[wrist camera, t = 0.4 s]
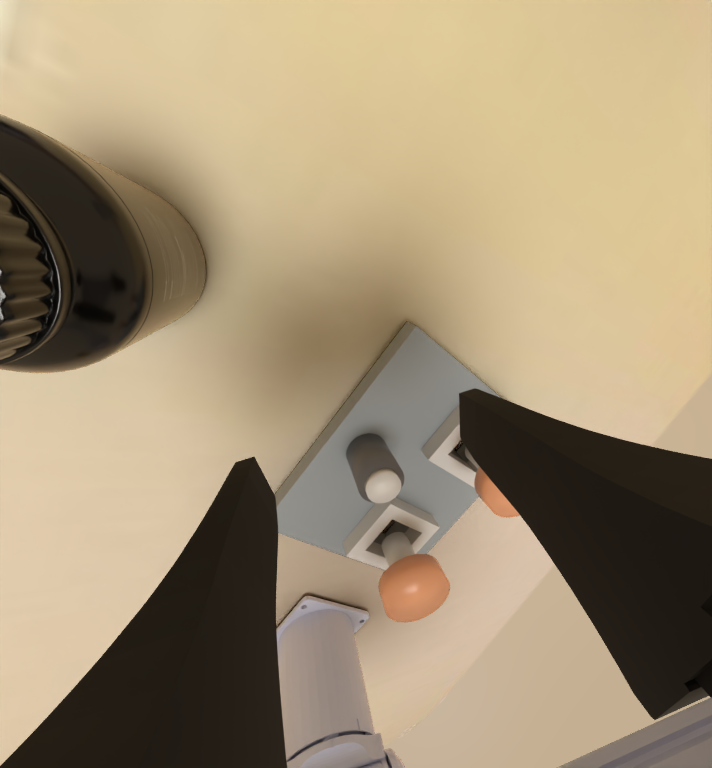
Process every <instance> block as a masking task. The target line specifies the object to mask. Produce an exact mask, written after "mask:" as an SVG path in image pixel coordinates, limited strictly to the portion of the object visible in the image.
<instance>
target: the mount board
mask: <svg viewBox="0 0 712 768" xmlns="http://www.w3.org/2000/svg"><path fill="white" fill-rule="evenodd" d="M474 388H476V389H479V390H482V391H484V392H487V393H490V394H492V395H495V396H497V397H499V398H501V397H500V396H498V395H497V394H496V393H495V392H494V391H493V390H491V389H490V388H489V387H488V386H487V385H486V384H484V383H483V382H482V381H481V380H480V379H478V378H477V377H476V376H475V375H474V374H473V373H471V372H470V371H469V370H468V369H467V368H466V367H464V366H463V365H462V364H461V363H460V362H458V361H457V360H456V359H455V358H454V357H453V356H451V355H450V354H449V353H448V352H447V351H446V350H444V349H443V348H442V347H441V346H440V345H438V344H437V343H436V342H435V341H434V340H433V339H431V338H430V337H429V336H428V335H427V334H426V333H424V332H423V331H422V330H421V329H420V328H419V327H417V326H416V325H413V324H411V323H409V322H406V323H405V325H404V326H403V327H402V329H401V330H400V331H399V333H398V334H397V335H396V336H395V338H394V339H393V340H392V342H391V343H390V344H389V346H388V347H387V348H386V350H385V351H384V352H383V353H382V355H381V356H380V357H379V359H378V360H377V361H376V363H375V364H374V365H373V367H372V368H371V369H370V370H369V372H368V373H367V374H366V376H365V377H364V378H363V380H362V381H361V382H360V384H359V385H358V386H357V387H356V389H355V390H354V391H353V393H352V394H351V395H350V397H349V398H348V399H347V401H346V402H345V403H344V404H343V406H342V407H341V408H340V410H339V411H338V412H337V414H336V415H335V416H334V418H333V419H332V420H331V421H330V423H329V424H328V425H327V427H326V428H325V429H324V431H323V432H322V433H321V435H320V436H319V437H318V438H317V440H316V441H315V442H314V444H313V445H312V446H311V448H310V449H309V450H308V452H307V453H306V454H305V455H304V457H303V458H302V459H301V461H300V462H299V463H298V465H297V466H296V467H295V469H294V470H293V471H292V472H291V474H290V475H289V476H288V478H287V479H286V480H285V482H284V483H283V484H282V486H281V487H280V488H279V489H278V491H277V492H276V493H275V497H276V507H277V519H278V533H280V534H282V535H285V536H288V537H291V538H294V539H297V540H300V541H302V542H305V543H308V544H311V545H314V546H317V547H319V548H322V549H325V550H328V551H331V552H334V553H337V554H339V555H342V556H345V557H348V558H351V559H354V560H356V561H359V562H362V563H365V564H368V565H371V566H373V567H376V568H379V569H382V570H385V571H386V569H387V568H388V567H389V566H388V563H387V561H386V558H385V555H384V553H383V550H382V542H383V540H384V539H385V538H386V537H387V536H388V535H390V534H392V533H395V532H402V533H405V534H406V535H407V537H408V539H409V541H410V543H411V546H412V548H413V550H414V552H415V554H427V553H428V552H429V551H430V550H431V548H432V547H433V546H434V545H435V544H436V543H437V542H438V541H439V540H440V539H441V538H442V536H443V535H444V534H445V533H446V532H447V531H448V530H449V529H450V528H451V527H452V525H453V524H454V523H455V522H456V521H457V520H458V519H459V518H460V517H461V516H462V514H463V513H464V512H465V511H466V510H467V509H468V508H469V507H470V506H471V505H472V504H473V502H474V501H475V500H476V499H477V498H478V497H479V496H478V494H477V493H476V490H475V486H474V481H475V476H476V473H477V470H478V468H477V467H476V466H475V465H474V464H473V463H472V462H471V461H470V460H469V459H468V458H467V457H466V455H465V448H466V446H465V445H464V443H463V444H462V445H461V447H460V448H459V449H458V450H457V451H454V450H453V448H454V447H455V446H456V445H457V444H458V443H459V441H460V440H461V438H460V416H459V393H461V392H464V391H468V390H471V389H474ZM367 433H372V434H376V435H379V436H380V437H382V438H383V440H384V441H385V443H386V444H387V446H388V448H389V449H390V451H391V453H392V454H393V456H394V458H395V459H396V461H397V463H398V464H399V466H400V468H401V469H402V471H403V473H404V484H403V486H402V488H401V490H400V492H399V494H398V495H397V496H396V497H395V498H394V499H392V500H391V501H389V502H386V503H372V502H368V501H366V500H364V499H363V498H362V497H361V495H360V494H359V491H358V488H357V485H356V483H355V480H354V477H353V474H352V471H351V469H350V466H349V463H348V460H347V457H346V452H347V448H348V446H349V444H350V443H351V442H352V441H353V440H354V439H355V438H356V437H358V436H360V435H363V434H367ZM391 520H395V521H396V522H395V523H394V524H393V525H392V526H391V527H390V528H389V530H388V531H387V532H386V533H385V534H384V533H382V531H383V529H384V528H385V527H386V526H387V525H388V524H389V522H390V521H391Z"/></svg>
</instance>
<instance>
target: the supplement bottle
mask: <svg viewBox="0 0 712 768" xmlns="http://www.w3.org/2000/svg"><path fill="white" fill-rule="evenodd" d="M205 277H206V266H205V259H204V254H203V251H202V248H201V245H200V243H199V240H198V238H197V236H196V234H195V233H194V231H193V229H192V228H191V226H190V225H189V224H188V222H187V221H186V220H185V219H184V217H183V216H182V215H181V214H180V213H179V212H178V211H177V210H176V209H175V208H174V207H172V206H171V205H170V204H169V203H168V202H166V201H165V200H164V199H162V198H161V197H159V196H158V195H156V194H154V193H153V192H151V191H149V190H148V189H146V188H144V187H142V186H140V185H139V184H137V183H135V182H133V181H131V180H129V179H127V178H126V177H124V176H122V175H120V174H118V173H116V172H114V171H113V170H111V169H109V168H107V167H105V166H103V165H101V164H100V163H98V162H96V161H94V160H92V159H90V158H88V157H87V156H85V155H83V154H81V153H79V152H77V151H75V150H73V149H72V148H70V147H68V146H66V145H64V144H62V143H60V142H59V141H57V140H55V139H53V138H51V137H49V136H47V135H45V134H43V133H41V132H39V131H37V130H35V129H33V128H31V127H29V126H27V125H25V124H22V123H20V122H18V121H15V120H13V119H11V118H8V117H6V116H3V115H1V114H0V369H2V370H9V371H16V372H28V373H52V372H62V371H68V370H74V369H78V368H82V367H86V366H88V365H91V364H94V363H96V362H99V361H101V360H103V359H105V358H107V357H109V356H111V355H113V354H115V353H117V352H119V351H121V350H122V349H124V348H126V347H128V346H130V345H132V344H133V343H135V342H137V341H139V340H141V339H143V338H145V337H146V336H148V335H150V334H152V333H154V332H156V331H157V330H159V329H161V328H163V327H165V326H167V325H168V324H170V323H172V322H174V321H176V320H177V319H179V318H181V317H182V316H184V315H185V314H186V313H187V312H189V310H190V309H191V308H192V307H193V306H194V305H195V304H196V302H197V301H198V299H199V298H200V295H201V293H202V291H203V288H204V283H205Z"/></svg>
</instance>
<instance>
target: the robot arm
mask: <svg viewBox="0 0 712 768" xmlns="http://www.w3.org/2000/svg"><path fill="white" fill-rule="evenodd" d="M459 416H460V438H461V440H462V441H463V443H464V445H465V446H466V448H467V449H468V451H469V452H470V454H471V456H472V457H473V459H474V460H475V461H476V463H477V464H478V465H479V466H480V468H481V469H482V470H483V471H484V473H485V474H486V475H487V476H488V477H489V479H490V480H491V481H492V482H493V483H494V485H495V486H496V487H497V488H498V489H499V490H500V492H501V493H502V494H503V495H504V496H505V498H506V499H507V500H508V501H509V502H510V504H511V505H512V506H513V507H514V508H515V510H516V511H517V512H518V513H519V514H520V516H521V517H522V518H523V519H524V521H525V522H526V523H527V525H528V526H529V527H530V529H531V530H532V532H533V533H534V534H535V536H536V537H537V539H538V540H539V542H540V543H541V544H542V546H543V547H544V549H545V550H546V552H547V553H548V555H549V556H550V558H551V559H552V561H553V562H554V564H555V565H556V567H557V568H558V569H559V571H560V572H561V574H562V576H563V577H564V579H565V580H566V582H567V583H568V585H569V586H570V588H571V589H572V591H573V592H574V594H575V596H576V597H577V599H578V601H579V602H580V604H581V605H582V607H583V609H584V610H585V612H586V613H587V615H588V616H589V618H590V620H591V621H592V623H593V625H594V626H595V628H596V629H597V631H598V633H599V635H600V636H601V638H602V640H603V641H604V643H605V645H606V646H607V648H608V650H609V651H610V653H611V655H612V657H613V658H614V659H615V661H616V663H617V665H618V667H619V668H620V670H621V672H622V673H623V675H624V677H625V679H626V680H627V682H628V684H629V686H630V688H631V689H632V691H633V693H634V694H635V696H636V697H637V698H638V700H639V701H640V702H641V704H642V705H643V706H644V708H645V709H646V710H647V712H648V713H649V715H650V716H651V717H652V718H653V719H654V720H656V719H658V718H660V717H662V716H665V715H667V714H669V713H671V712H674V711H676V710H678V709H680V708H682V707H685V706H687V705H689V704H691V703H693V702H695V701H698V700H700V699H702V698H704V697H707V696H710V697H711V698H709V699H707V700H705V701H703V702H700V703H698V704H696V705H694V706H691V707H689V708H687V709H685V710H683V711H680V712H678V713H676V714H674V715H672V716H669V717H667V718H665V719H663V720H661V721H658V722H656V723H654V724H652V725H650V726H647V727H645V728H643V729H641V730H639V731H637V732H635V733H632V734H630V735H628V736H625V737H623V738H621V739H619V740H617V741H615V742H612V743H610V744H608V745H606V746H603V747H601V748H599V749H597V750H595V751H592V752H590V753H588V754H586V755H584V756H581V757H580V758H577V759H575V760H573V761H571V762H568V763H566V764H564V765H562V766H560V767H557V768H712V459H709V458H703V457H698V456H693V455H688V454H683V453H678V452H673V451H668V450H664V449H659V448H655V447H650V446H646V445H641V444H637V443H633V442H629V441H625V440H621V439H618V438H614V437H611V436H607V435H603V434H600V433H596V432H593V431H589V430H586V429H583V428H580V427H577V426H574V425H571V424H568V423H565V422H562V421H559V420H556V419H553V418H551V417H548V416H545V415H542V414H540V413H537V412H535V411H532V410H529V409H527V408H524V407H522V406H519V405H517V404H514V403H512V402H509V401H507V400H504V399H502V398H499V397H497V396H495V395H492V394H490V393H487V392H484V391H482V390H479V389H476V388H474V389H471V390H468V391H464V392H461V393H459ZM277 552H278V519H277V507H276V497H275V495H274V493H273V492H272V490H271V488H270V486H269V484H268V482H267V480H266V478H265V476H264V474H263V472H262V471H261V469H260V467H259V465H258V463H257V461H256V459H255V457H252V458H248V459H245V460H242V461H239V462H236V463H235V465H234V466H233V468H232V470H231V471H230V473H229V475H228V477H227V478H226V480H225V482H224V484H223V485H222V487H221V489H220V491H219V492H218V494H217V496H216V498H215V500H214V501H213V503H212V505H211V506H210V508H209V510H208V511H207V513H206V515H205V517H204V518H203V520H202V522H201V523H200V525H199V527H198V528H197V530H196V531H195V533H194V534H193V536H192V537H191V539H190V541H189V542H188V544H187V545H186V547H185V548H184V550H183V551H182V553H181V555H180V556H179V558H178V559H177V561H176V562H175V563H174V565H173V566H172V568H171V569H170V571H169V572H168V573H167V575H166V576H165V578H164V579H163V580H162V582H161V583H160V584H159V586H158V587H157V588H156V590H155V591H154V592H153V594H152V595H151V596H150V598H149V599H148V600H147V602H146V603H145V604H144V605H143V607H142V608H141V609H140V611H139V612H138V613H137V614H136V615H135V617H134V618H133V619H132V620H131V621H130V623H129V624H128V625H127V626H126V628H125V629H124V630H123V631H122V632H121V634H120V635H119V636H118V637H117V639H116V640H115V641H114V642H113V643H112V645H111V646H110V647H109V648H108V649H107V651H106V652H105V653H104V654H103V655H102V657H101V658H100V659H99V660H98V661H97V662H96V664H95V665H94V666H93V667H92V668H91V669H90V670H89V672H88V673H87V674H86V675H85V676H84V677H83V678H82V679H81V681H80V682H79V683H78V684H77V685H76V686H75V687H74V688H73V690H72V691H71V692H70V693H69V694H68V695H67V696H66V697H65V698H64V699H63V701H62V702H61V703H60V704H59V705H58V706H57V707H56V708H55V709H54V710H53V711H52V713H51V714H50V715H49V716H48V717H47V718H46V719H45V720H44V721H43V722H42V723H41V724H40V725H39V727H38V728H37V729H36V730H35V731H34V732H33V733H32V734H31V735H30V736H29V737H28V738H27V739H26V740H25V741H24V742H23V743H22V744H21V745H20V746H19V747H18V749H17V750H16V751H15V752H14V753H13V754H12V755H11V756H10V757H9V758H8V759H7V760H6V761H5V762H4V763H3V764H2V765H1V766H0V768H405V766H404V764H403V763H402V761H401V759H399V757H397V755H396V754H395V752H394V751H393V750H392V749H390V748H388V749H385V750H384V747H383V743H382V738H381V734H380V733H377V734H375V732H374V727H373V722H372V717H371V712H370V708H369V703H368V698H367V693H366V688H365V683H364V679H363V674H362V669H361V664H360V659H359V654H358V650H357V645H356V640H355V635H354V634H355V633H356V632H357V631H358V630H359V629H360V627H361V626H362V625H363V624H364V623H365V622H366V621H367V620H368V619H369V613H368V612H367V611H365V610H361V609H357V608H353V607H350V606H346V605H342V604H338V603H335V602H331V601H327V600H323V599H320V598H316V597H312V596H305V597H304V598H302V600H301V601H300V602H299V603H298V604H297V605H296V607H295V608H294V609H293V610H292V611H291V613H290V614H289V615H288V616H287V617H286V618H285V620H284V621H283V622H282V623H281V624H280V626H279V627H278V628H277V629H276V580H277Z"/></svg>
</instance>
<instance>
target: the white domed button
mask: <svg viewBox="0 0 712 768" xmlns="http://www.w3.org/2000/svg"><path fill="white" fill-rule="evenodd" d="M346 457H347V460H348V463H349V466H350V469H351V471H352V474H353V477H354V480H355V483H356V485H357V488H358V491H359V494H360V495H361V497H362V498H363V499H364V500H366V501H368V502H372V503H386V502H389V501H391V500H392V499H394V498H395V497H396V496H397V495H398V494H399V492H400V490H401V488H402V486H403V484H404V473H403V471H402V469H401V468H400V466H399V464H398V463H397V461H396V459H395V458H394V456H393V454H392V453H391V451H390V449H389V448H388V446H387V444H386V443H385V441H384V440H383V438H382V437H380V436H379V435H376V434H372V433H367V434H363V435H360V436H358V437H356V438H355V439H354V440H353V441H352V442H351V443H350V444H349V446H348V448H347V452H346Z"/></svg>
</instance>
